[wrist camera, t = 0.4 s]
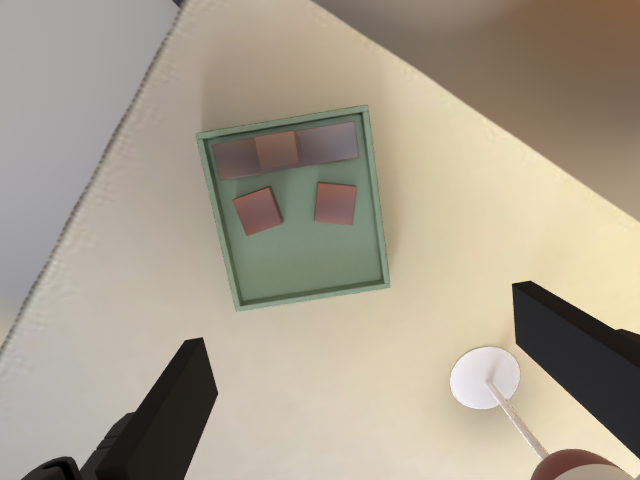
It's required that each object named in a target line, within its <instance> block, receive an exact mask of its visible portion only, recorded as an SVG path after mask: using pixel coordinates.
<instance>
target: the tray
mask: <svg viewBox="0 0 640 480" xmlns="http://www.w3.org/2000/svg"><path fill="white" fill-rule="evenodd" d="M350 121H355V128H356V135H357V143H358V150H359V158H354V159H347V160H341V161H335V162H329V163H323V164H317V165H311V166H305V167H299V168H293V169H287V170H281V171H274V172H268V173H262V174H256V175H250V176H244V177H238V178H232V179H226V180H219V176H218V171H217V167H216V162H215V158H214V153H213V148H212V144H218V143H224V142H230V141H236V140H242V139H248V138H254V137H255V136H259V135H265V134H271V133H277V132H284V131H290V130H294V131H296V130H302V129H308V128H314V127H320V126H326V125H332V124H338V123H344V122H350ZM196 138H197V143H198V147H199V151H200V156H201V160H202V165H203V169H204V173H205V178H206V182H207V187H208V191H209V195H210V200H211V204H212V209H213V213H214V217H215V222H216V226H217V230H218V235H219V239H220V244H221V248H222V252H223V257H224V261H225V266H226V270H227V274H228V279H229V283H230V287H231V292H232V296H233V301H234V305H235V309H236V312H239V311H245V310H251V309H258V308H264V307H271V306H277V305H283V304H290V303H296V302H302V301H309V300H315V299H322V298H328V297H334V296H341V295H347V294H353V293H360V292H366V291H373V290H379V289H385V288H390V280H389V272H388V264H387V256H386V248H385V240H384V232H383V224H382V215H381V207H380V199H379V191H378V183H377V175H376V167H375V159H374V151H373V143H372V135H371V127H370V119H369V112H368V105H363V106H357V107H351V108H345V109H339V110H333V111H327V112H321V113H315V114H309V115H303V116H297V117H291V118H285V119H279V120H273V121H267V122H261V123H255V124H249V125H243V126H237V127H231V128H225V129H219V130H213V131H207V132H201V133H196ZM318 181H319V182H329V183H338V184H348V185H355V186H357V193H356V201H355V209H354V217H353V225H344V224H334V223H324V222H314V214H315V204H316V194H317V184H318ZM268 186H271V187H272V190H273V192H274V195H275V198H276V200H277V203H278V206H279V208H280V211H281V214H282V216H283V219H284V221H283V223H282V224H281V225H278V226H275V227H272V228H269V229H266V230H263V231H260V232H257V233H255V234H252V235H249V236H246V234H245V231H244V229H243V226H242V224H241V221H240V219H239V216H238V214H237V211H236V209H235V206H234V204H233V201H232V200H233V199H235V198H237V197H240V196H243V195H245V194H248V193H251V192H254V191H257V190H260V189H262V188H265V187H268Z"/></svg>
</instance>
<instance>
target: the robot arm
mask: <svg viewBox="0 0 640 480" xmlns="http://www.w3.org/2000/svg"><path fill="white" fill-rule="evenodd" d="M512 291H513V306H514V322H515V337H516V344H517V345H518V346H519V347H520V348H521V349H522V350H523V351H525V352H526V353H527V354H528V355H529V356H530V357H531V358H532V359H533V360H534V361H535V362H536V363H537V364H538V365H540V366H541V367H542V368H543V369H544V370H545V371H546V372H547V373H548V374H549V375H550V376H551V377H552V378H553V379H554V380H556V381H557V382H558V383H559V384H560V385H561V386H562V387H563V388H564V389H565V390H566V391H567V392H568V393H569V394H570V395H572V396H573V397H574V398H575V399H576V400H577V401H578V402H579V403H580V404H581V405H582V406H583V407H584V408H585V409H587V410H588V411H589V412H590V413H591V414H592V415H593V416H594V417H595V418H596V419H597V420H598V421H599V422H600V423H601V424H603V425H604V426H605V427H606V428H607V429H608V430H609V431H610V432H611V433H612V434H613V435H614V436H615V437H616V438H618V439H619V440H620V441H621V442H622V443H623V444H624V445H625V446H626V447H627V448H628V449H629V450H630V451H631V452H632V453H634V454H635V455H636V456H637V457H638V458H639V459H640V335H639V334H636V333H633V332H630V331H627V330H623V329H618V330H614V329H613V328H611V327H609V326H608V325H606V324H604V323H602V322H601V321H599V320H597V319H596V318H594V317H592V316H590V315H589V314H587V313H585V312H584V311H582V310H580V309H578V308H577V307H575V306H573V305H572V304H570V303H568V302H566V301H565V300H563V299H561V298H560V297H558V296H556V295H554V294H553V293H551V292H549V291H548V290H546V289H544V288H542V287H541V286H539V285H537V284H535V283H534V282H532V281H525V282H519V283H514V284H512ZM217 395H218V391H217V387H216V384H215V380H214V376H213V373H212V369H211V365H210V362H209V358H208V355H207V351H206V347H205V344H204V340H203V337H201V338H195V339H190V340H185V341H184V343H183V344H182V345H181V347H180V348H179V350H178V351H177V353H176V354H175V356H174V357H173V358H172V360H171V361H170V363H169V364H168V366H167V367H166V368H165V370H164V371H163V373H162V374H161V376H160V377H159V379H158V380H157V381H156V383H155V384H154V386H153V387H152V389H151V390H150V392H149V393H148V394H147V396H146V397H145V399H144V400H143V402H142V403H141V404H140V406H139V407H138V409H137V410H136V412H132V413H127V414H126V415H125V416H124V417H122V418H121V419H120V420H119V421H118V422H117V423H115V424H114V425H113V426H112V428H111V429H110V430H109V432H108V433H107V435H106V436H105V437H104V440H102V441H101V443H100V444H99V445H98V447H97V450H95V451H94V452H93V453H92V455H91V456H90V457H89V459H88V460H87V462H86V463H85V464H84V466H83V467H82V468H81V470H80V471H79V469H78V467H77V464H76V462H75V460H74V459H73V458H72V457H65V456H64V457H60V458H56V459H53V460H50V461H48V462H46V463H44V464H42V465H40V466H39V467H37V468H35V469H34V470H32V471H31V472H29V473H28V474H27V475H26V476H25V477H24V478H22V479H21V480H184V478H185V475H186V473H187V470H188V468H189V465H190V463H191V460H192V458H193V455H194V453H195V450H196V448H197V445H198V443H199V440H200V438H201V435H202V433H203V430H204V428H205V425H206V423H207V420H208V418H209V415H210V413H211V410H212V408H213V405H214V403H215V400H216V398H217Z"/></svg>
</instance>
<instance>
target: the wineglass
mask: <svg viewBox="0 0 640 480" xmlns="http://www.w3.org/2000/svg"><path fill="white" fill-rule="evenodd" d="M519 380H520V368H519V365H518V363H517V361H516V359H515V358H514V357H513V356H512V355H511V354H510V353H509V352H507V351H505V350H503V349H500V348H498V347H482V348H477V349H474V350H472V351H470V352H468V353H466V354H465V355H464V356H463V357H461V358H460V359H459V360H458V361H457V363H456V364H455V366H454V368H453V370H452V372H451V377H450V386H451V391H452V393H453V394H454V396H455V398H456V399H457V400H458V401H459V402H461V403H462V404H463V405H465V406H467V407H470V408H473V409H489V408H494V407H496V406H498V405H501V407H502V408H503V409H504V411H505V412H506V413H507V415H508V416H509V417H510V419H511V420H512V421H513V423H514V424H515V426H516V427H517V428H518V430H519V431H520V432H521V434H522V435H523V436H524V438H525V439H526V440H527V442H528V443H529V444H530V446H531V447H532V448H533V450H534V451H535V452H536V454H537V455H538V456H539V458H540V459H541V460H542V461H541V462H540V463H539V465H538V466H537V467H536V469H535V471H534V473H533V475H532V478H531V480H635V479H634V478H633V477H632V476H630V475H629V474H627V473H626V472H625V471H623V470H622V469H621V468H619V467H618V466H616V465H615V464H613V463H612V462H610V461H608V460H606V459H605V458H603V457H601V456H599V455H597V454H594V453H591V452H588V451H585V450H580V449H566V450H560V451H557V452H555V453H552V454H550V455H549V454H548V452H547V451H546V450H545V449H544V447H543V446H542V445H541V444H540V442H539V441H538V440H537V438H536V437H535V436H534V435H533V433H532V432H531V431H530V429H529V428H528V427H527V426H526V424H525V423H524V422H523V421H522V419H521V418H520V417H519V415H518V414H517V413H516V412H515V410H514V409H513V408H512V407H511V405H510V404H509V403H508V401H507V400H508V399H509V398H510V397H511V396H512V395H513V393H514V392H515V390H516V389H517V387H518V384H519Z"/></svg>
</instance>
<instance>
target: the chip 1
mask: <svg viewBox="0 0 640 480" xmlns="http://www.w3.org/2000/svg"><path fill="white" fill-rule="evenodd" d="M232 201H233V204H234V206H235V209H236V211H237V214H238V216H239V219H240V221H241V224H242V226H243V229H244V231H245V234H246V236H249V235H252V234H255V233H257V232H260V231H263V230H266V229H269V228H272V227H275V226H278V225H281V224H282V223H283V221H284V219H283V216H282V214H281V211H280V208H279V206H278V203H277V200H276V198H275V195H274V192H273V190H272V187H271V186H268V187H265V188H262V189H260V190H257V191H254V192H251V193H248V194H245V195H243V196H240V197H237V198H235V199H233V200H232Z"/></svg>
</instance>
